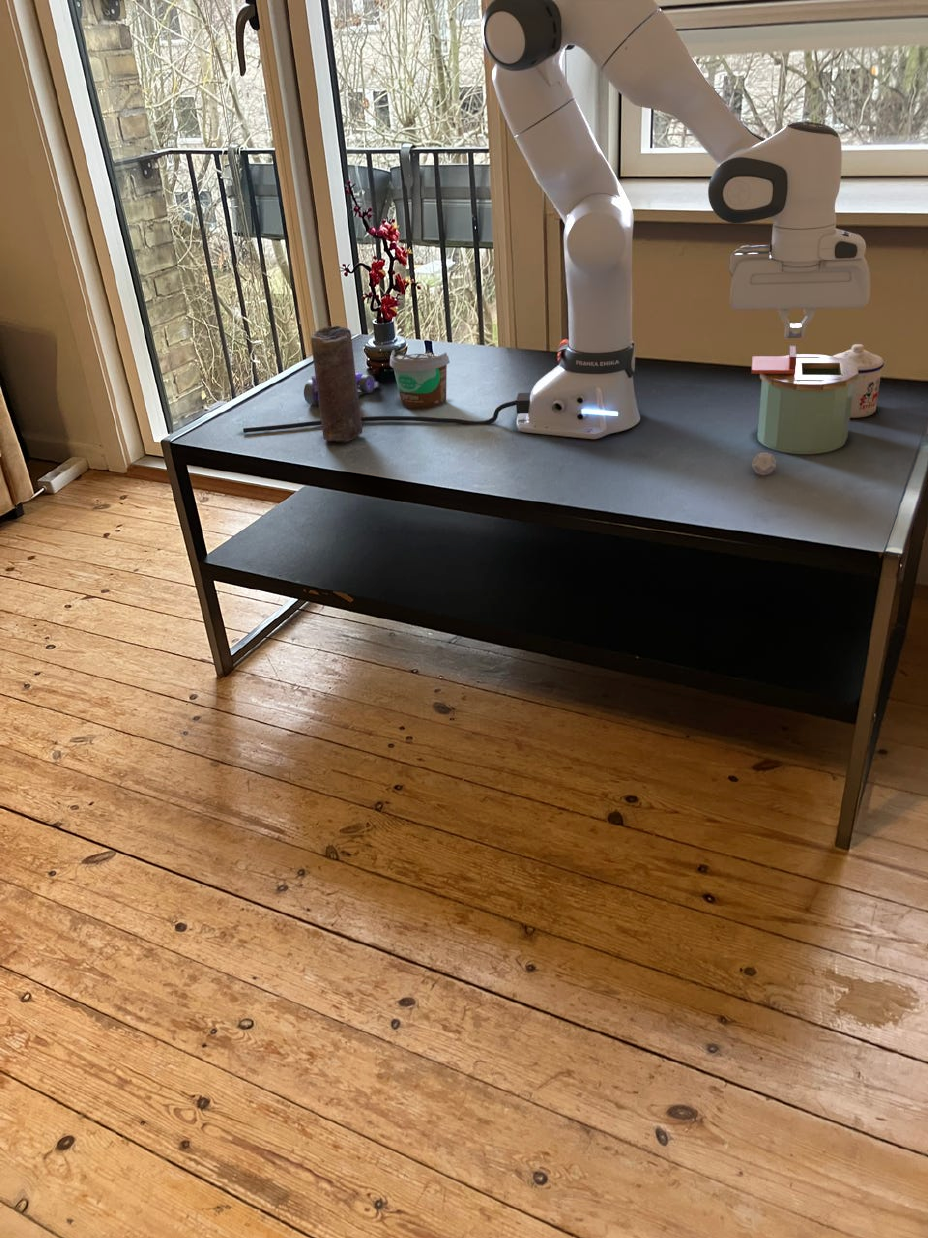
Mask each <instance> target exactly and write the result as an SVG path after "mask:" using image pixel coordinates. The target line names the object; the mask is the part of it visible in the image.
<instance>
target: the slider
mask: <svg viewBox="0 0 928 1238" xmlns="http://www.w3.org/2000/svg"><path fill="white" fill-rule="evenodd" d="M796 354H797V345H789V351H788V355H789V356H788V355H781V356H779V355H778V356H777V355H776V356H773V355H772V356H771V355H769V356H765V355H763V356H761V355H759V356H757V355H754V356H753V355H752V359H751V360H752V361H751V375H752V374H755V375H757V374H759V375H760V374H795V368H796V358H797V355H796Z"/></svg>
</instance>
